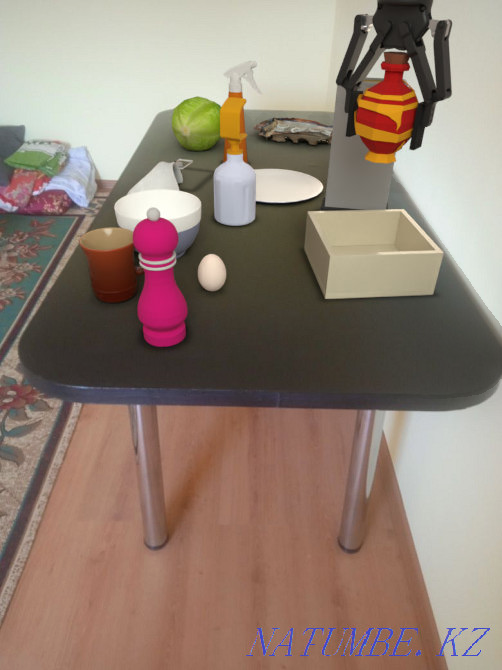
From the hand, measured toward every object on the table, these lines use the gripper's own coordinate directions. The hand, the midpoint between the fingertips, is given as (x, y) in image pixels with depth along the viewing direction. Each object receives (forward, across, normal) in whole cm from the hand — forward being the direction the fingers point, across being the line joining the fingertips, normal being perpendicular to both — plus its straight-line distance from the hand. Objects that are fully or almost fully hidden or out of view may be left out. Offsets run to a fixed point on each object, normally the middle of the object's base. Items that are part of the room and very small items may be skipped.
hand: (382, 141), depth 82 cm
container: (+24, -14, +22) cm, 35 cm away
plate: (+24, -39, +25) cm, 52 cm away
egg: (+24, -16, -23) cm, 37 cm away
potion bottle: (+3, 0, 0) cm, 3 cm away
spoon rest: (+23, -54, 0) cm, 59 cm away
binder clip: (+24, -62, +15) cm, 68 cm away
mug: (+24, -27, -33) cm, 49 cm away
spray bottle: (+24, -58, +36) cm, 72 cm away
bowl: (+24, -34, -18) cm, 45 cm away
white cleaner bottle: (+24, -34, +4) cm, 41 cm away
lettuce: (+24, -78, +39) cm, 90 cm away
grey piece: (+24, -62, +69) cm, 96 cm away
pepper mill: (+24, -13, -37) cm, 46 cm away
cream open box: (+23, 0, +1) cm, 23 cm away
